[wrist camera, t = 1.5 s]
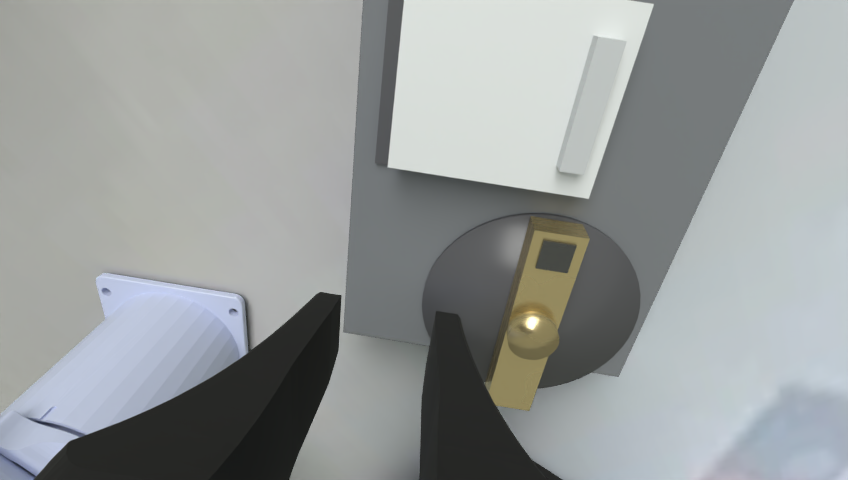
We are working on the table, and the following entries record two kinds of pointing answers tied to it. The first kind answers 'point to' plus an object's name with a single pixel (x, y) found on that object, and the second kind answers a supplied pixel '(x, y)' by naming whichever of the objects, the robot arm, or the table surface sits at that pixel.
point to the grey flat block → (551, 194)
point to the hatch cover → (512, 89)
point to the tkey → (535, 309)
